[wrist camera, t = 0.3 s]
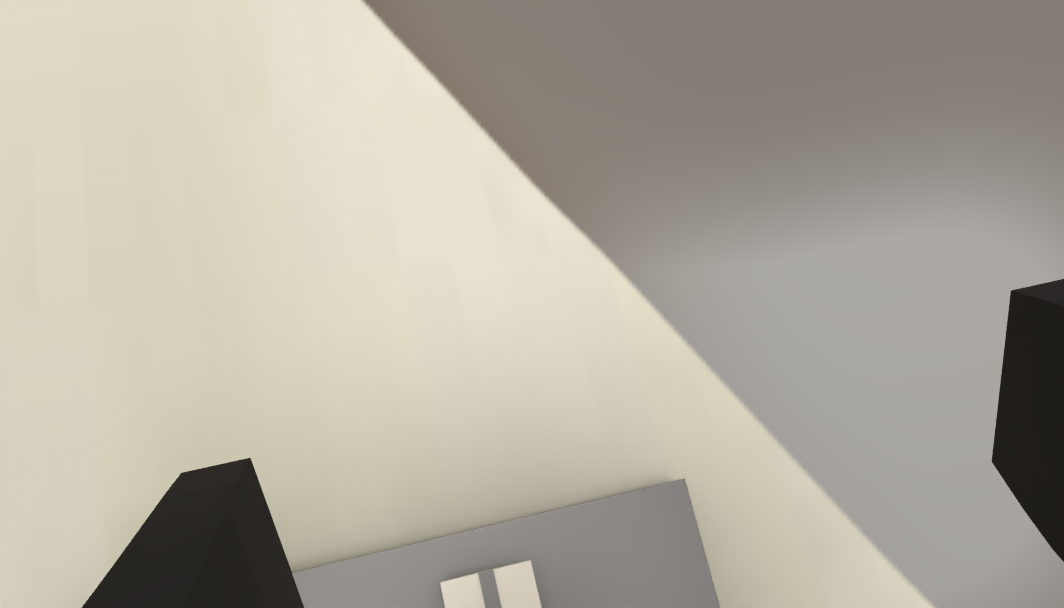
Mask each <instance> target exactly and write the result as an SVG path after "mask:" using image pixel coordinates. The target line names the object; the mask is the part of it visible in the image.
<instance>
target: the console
mask: <svg viewBox="0 0 1064 608" xmlns="http://www.w3.org/2000/svg"><path fill="white" fill-rule="evenodd" d="M527 560H531V564H532V568H533V572H534V577H535V581H536V586H537V590H538V594H539V599H540V603H541V607H542V608H720V606H719V603H718V599H717V595H716V592H715V588H714V584H713V581H712V577H711V573H710V570H709V566H708V562H707V559H706V555H705V551H704V548H703V544H702V540H701V537H700V533H699V529H698V526H697V522H696V518H695V515H694V511H693V507H692V504H691V500H690V496H689V493H688V489H687V485H686V482H685V479H681V480H676V481H672V482H668V483H664V484H660V485H656V486H651V487H647V488H643V489H639V490H635V491H631V492H627V493H622V494H618V495H614V496H610V497H606V498H602V499H597V500H593V501H589V502H585V503H581V504H577V505H572V506H568V507H564V508H560V509H556V510H552V511H547V512H543V513H539V514H535V515H531V516H527V517H523V518H518V519H514V520H510V521H506V522H502V523H498V524H493V525H489V526H485V527H481V528H477V529H473V530H468V531H464V532H460V533H456V534H452V535H448V536H444V537H439V538H435V539H431V540H427V541H423V542H419V543H414V544H410V545H406V546H402V547H398V548H394V549H389V550H385V551H381V552H377V553H373V554H369V555H364V556H360V557H356V558H352V559H348V560H344V561H340V562H335V563H331V564H327V565H323V566H319V567H315V568H310V569H306V570H302V571H298V572H294V573H292V575H293V578H294V580H295V583H296V586H297V589H298V591H299V594H300V597H301V600H302V603H303V605H304V608H445V604H444V600H443V595H442V590H441V585H440V582H442V581H444V580H449V579H453V578H457V577H461V576H465V575H469V574H473V573H477V572H481V571H485V570H489V569H493V568H497V567H501V566H505V565H509V564H514V563H518V562H522V561H527Z"/></svg>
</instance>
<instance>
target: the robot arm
mask: <svg viewBox="0 0 1064 608" xmlns="http://www.w3.org/2000/svg"><path fill="white" fill-rule="evenodd" d="M992 463H993V464H994V466H995V467H996V469H997V470H998V471H999V473H1000V475H1001V476H1002V478H1003V479H1004V481H1005V482H1006V484H1007V485H1008V487H1009V488H1010V490H1011V491H1012V493H1013V494H1014V496H1015V497H1016V499H1017V500H1018V502H1019V503H1020V505H1021V506H1022V508H1023V509H1024V510H1025V512H1026V513H1027V515H1028V516H1029V517H1030V519H1031V520H1032V522H1033V523H1034V524H1035V525H1036V527H1037V528H1038V530H1039V531H1040V533H1041V534H1042V535H1043V536H1044V538H1045V539H1046V541H1047V542H1048V543H1049V545H1050V546H1051V547H1052V549H1053V550H1054V551H1055V552H1056V553H1057V555H1058V556H1059V557H1060V558H1061V559H1062V560H1063V561H1064V279H1062V280H1057V281H1053V282H1048V283H1044V284H1039V285H1034V286H1030V287H1026V288H1021V289H1016V290H1012V291H1011V295H1010V304H1009V313H1008V322H1007V331H1006V340H1005V348H1004V357H1003V366H1002V375H1001V384H1000V393H999V402H998V411H997V419H996V428H995V437H994V446H993V455H992ZM82 608H304V605H303V603H302V600H301V597H300V594H299V591H298V589H297V586H296V583H295V580H294V578H293V575H292V572H291V569H290V567H289V564H288V561H287V558H286V555H285V553H284V550H283V547H282V544H281V542H280V539H279V536H278V533H277V530H276V528H275V525H274V522H273V519H272V517H271V514H270V511H269V508H268V506H267V503H266V500H265V497H264V494H263V492H262V489H261V486H260V483H259V481H258V478H257V475H256V472H255V470H254V467H253V464H252V461H251V458H247V459H243V460H238V461H234V462H229V463H225V464H220V465H216V466H211V467H206V468H202V469H197V470H193V471H188V472H184V473H181V474H180V476H179V477H178V478H177V479H176V481H175V482H174V483H173V484H172V486H171V487H170V488H169V490H168V491H167V492H166V494H165V495H164V496H163V498H162V499H161V500H160V502H159V503H158V505H157V506H156V507H155V509H154V510H153V511H152V513H151V514H150V516H149V517H148V518H147V520H146V521H145V522H144V524H143V525H142V527H141V528H140V529H139V531H138V532H137V534H136V535H135V536H134V538H133V539H132V540H131V542H130V543H129V545H128V546H127V547H126V549H125V550H124V551H123V553H122V554H121V556H120V557H119V558H118V560H117V561H116V562H115V564H114V565H113V567H112V568H111V569H110V571H109V572H108V573H107V575H106V576H105V577H104V579H103V580H102V582H101V583H100V584H99V585H98V587H97V588H96V589H95V591H94V592H93V593H92V595H91V596H90V597H89V599H88V600H87V601H86V603H85V604H84V605H83V607H82Z"/></svg>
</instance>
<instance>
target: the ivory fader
mask: <svg viewBox="0 0 1064 608" xmlns="http://www.w3.org/2000/svg"><path fill="white" fill-rule="evenodd" d="M440 585H441V590H442V595H443V600H444V604H445V608H542V607H541V603H540V599H539V594H538V590H537V586H536V581H535V577H534V572H533V568H532V564H531V560H527V561H522V562H518V563H514V564H509V565H505V566H501V567H497V568H493V569H489V570H485V571H481V572H477V573H473V574H469V575H465V576H461V577H457V578H453V579H449V580H444V581H442V582H440Z"/></svg>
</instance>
